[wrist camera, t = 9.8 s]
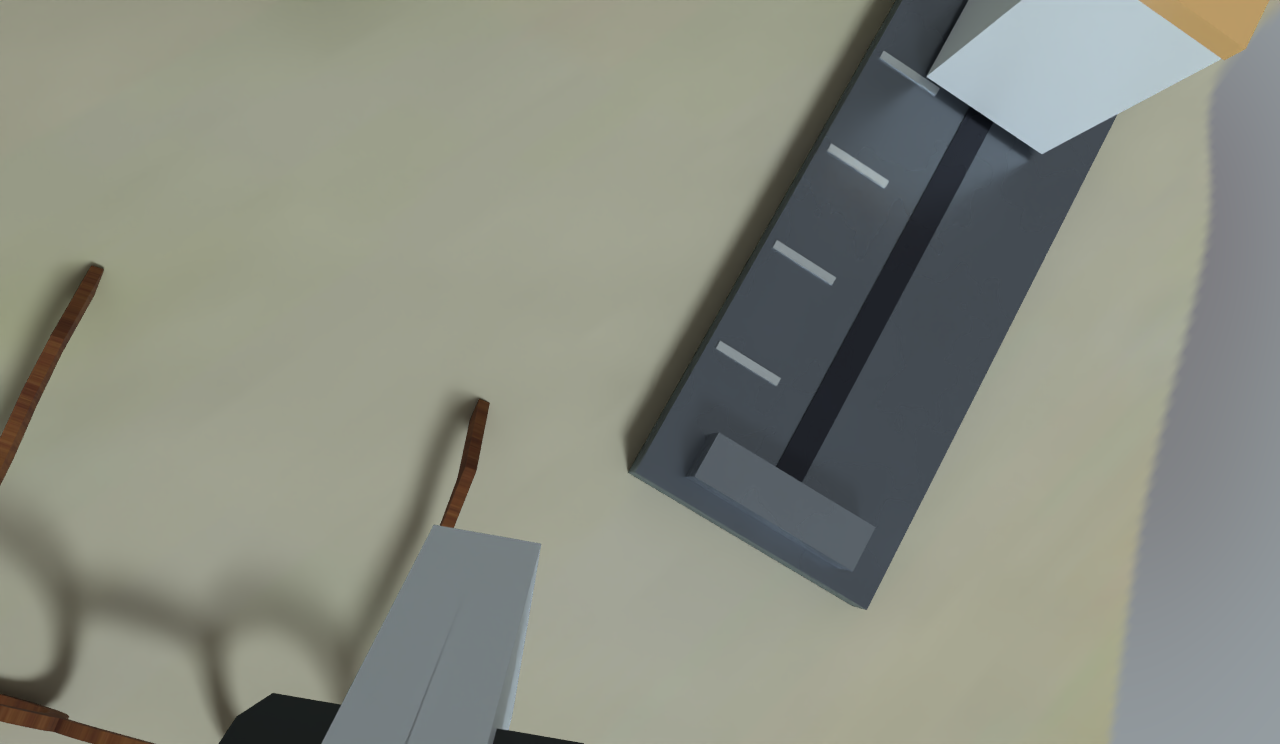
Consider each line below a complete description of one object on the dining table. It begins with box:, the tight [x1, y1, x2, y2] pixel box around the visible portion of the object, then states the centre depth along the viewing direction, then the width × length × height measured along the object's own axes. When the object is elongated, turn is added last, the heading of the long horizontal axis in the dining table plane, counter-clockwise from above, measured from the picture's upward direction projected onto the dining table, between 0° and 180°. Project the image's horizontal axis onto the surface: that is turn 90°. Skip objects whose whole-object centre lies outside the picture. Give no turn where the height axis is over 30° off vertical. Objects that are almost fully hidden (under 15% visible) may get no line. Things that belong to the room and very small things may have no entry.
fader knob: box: [926, 0, 1269, 154], centre depth 34 cm, size 4×5×10 cm
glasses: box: [0, 265, 490, 744], centre depth 31 cm, size 13×13×5 cm
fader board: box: [628, 0, 1117, 610], centre depth 38 cm, size 26×9×2 cm, turn 150°
